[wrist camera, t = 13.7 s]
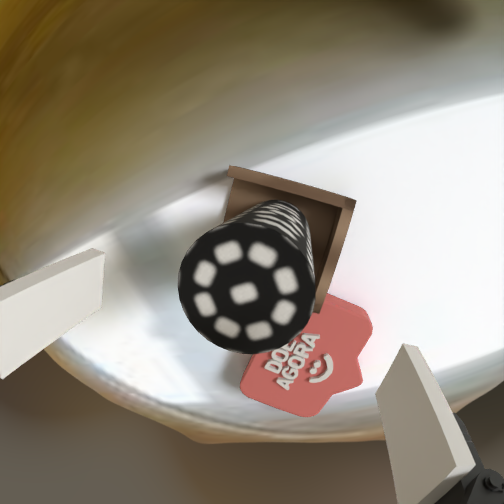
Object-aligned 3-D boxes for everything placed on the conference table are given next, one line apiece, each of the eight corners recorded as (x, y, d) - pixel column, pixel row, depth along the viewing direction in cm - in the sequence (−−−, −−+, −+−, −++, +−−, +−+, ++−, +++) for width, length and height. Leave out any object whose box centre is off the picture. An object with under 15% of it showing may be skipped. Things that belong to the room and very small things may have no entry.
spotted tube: (255, 275, 39) (209, 364, 20) (231, 213, 38) (157, 249, 18) (319, 255, 37) (332, 335, 18) (296, 189, 36) (288, 201, 16)
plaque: (329, 428, 39) (234, 395, 40) (329, 411, 42) (239, 379, 43) (398, 332, 34) (288, 286, 35) (391, 318, 37) (289, 275, 38)
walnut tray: (238, 166, 37) (229, 165, 32) (350, 198, 35) (356, 200, 31) (213, 269, 40) (203, 279, 36) (317, 299, 39) (319, 314, 35)
